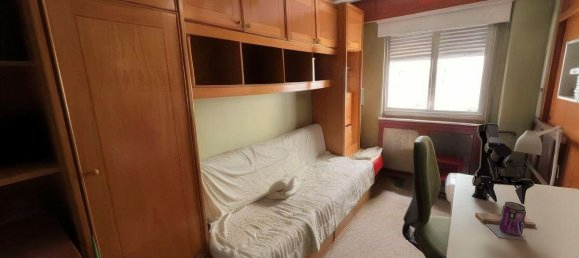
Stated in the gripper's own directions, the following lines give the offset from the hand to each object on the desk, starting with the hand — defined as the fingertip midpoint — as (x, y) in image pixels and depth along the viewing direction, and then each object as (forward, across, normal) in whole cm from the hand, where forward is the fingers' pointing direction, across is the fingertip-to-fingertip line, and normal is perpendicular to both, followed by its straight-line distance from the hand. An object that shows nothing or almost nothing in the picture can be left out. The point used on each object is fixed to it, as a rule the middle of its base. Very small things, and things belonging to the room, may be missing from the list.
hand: (509, 202), depth 99 cm
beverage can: (+9, +2, +9) cm, 13 cm away
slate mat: (+9, 0, +9) cm, 13 cm away
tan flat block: (+3, +4, +16) cm, 17 cm away
